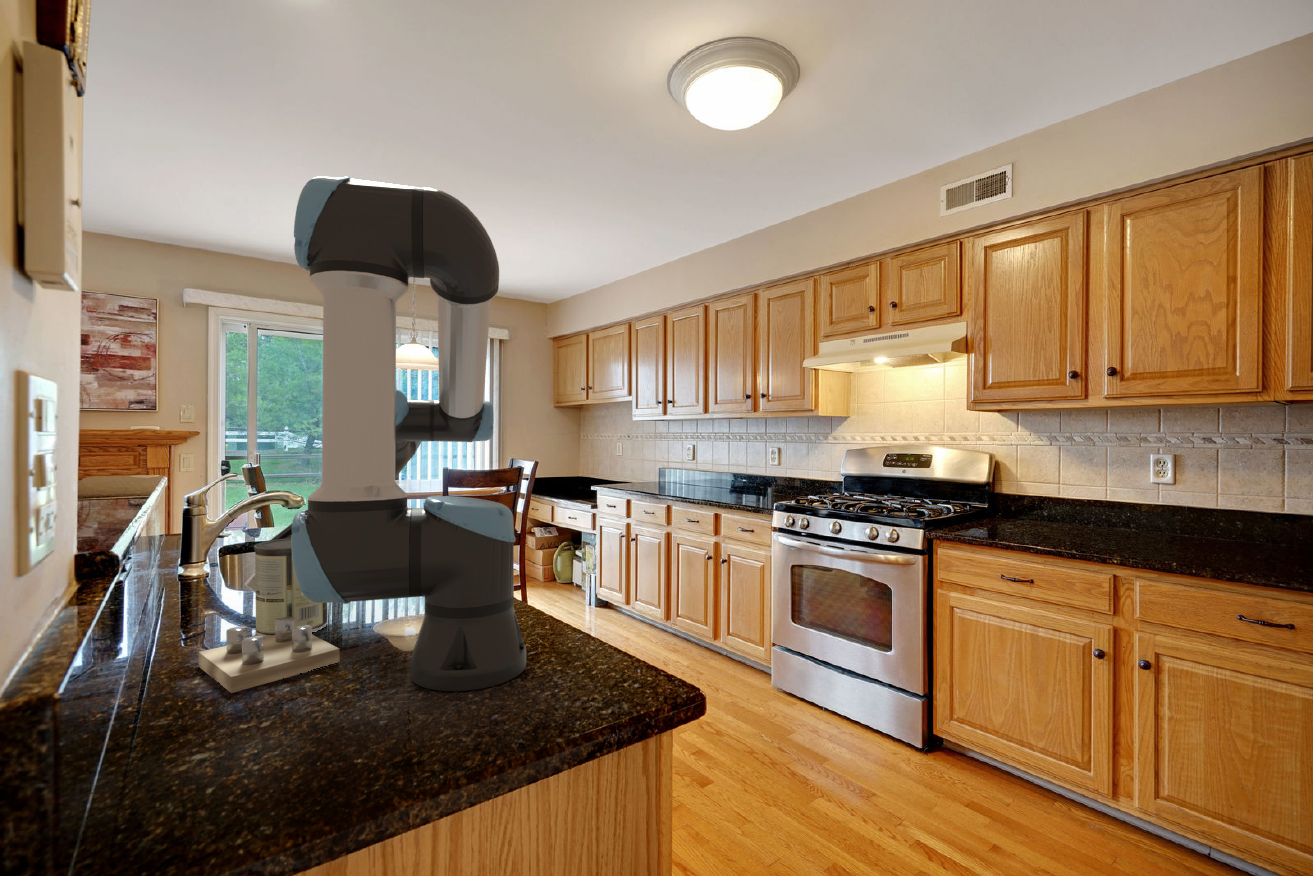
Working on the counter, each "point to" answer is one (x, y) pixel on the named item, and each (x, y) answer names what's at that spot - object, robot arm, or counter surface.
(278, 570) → the coffee can
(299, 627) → the peg set
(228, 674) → the stand plate
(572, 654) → the counter surface
